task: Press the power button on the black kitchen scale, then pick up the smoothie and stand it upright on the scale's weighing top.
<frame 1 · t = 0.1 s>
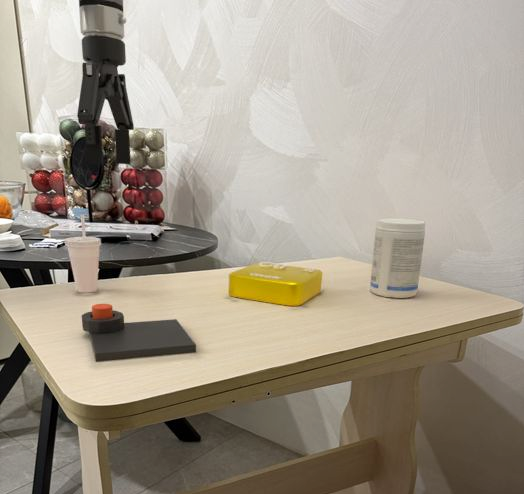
hand: (110, 164, 101), 23 cm above the table, tool pointing down, fingers open, 13 cm apart
scale button: (102, 312, 74), point 3 cm above the table, slide at 0.1 cm
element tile: (275, 294, 103), on the table
scale: (140, 342, 73), on the table
smoothie: (87, 291, 99), on the table
supplement tub: (392, 294, 107), on the table
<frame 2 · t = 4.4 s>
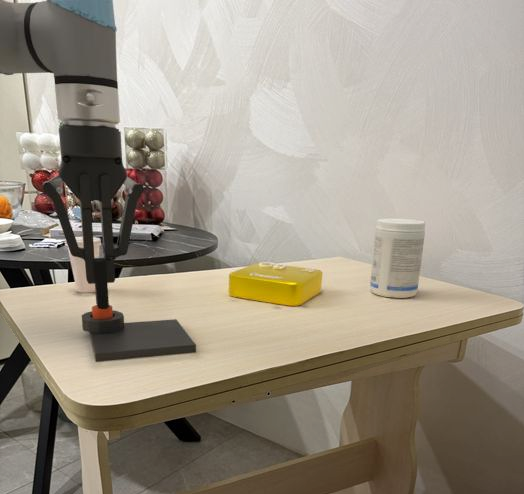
hand: (102, 305, 74), 5 cm above the table, tool pointing down, fingers closed
scale button: (102, 312, 74), point 3 cm above the table, slide at 0.0 cm, touching gripper
everything else where it was.
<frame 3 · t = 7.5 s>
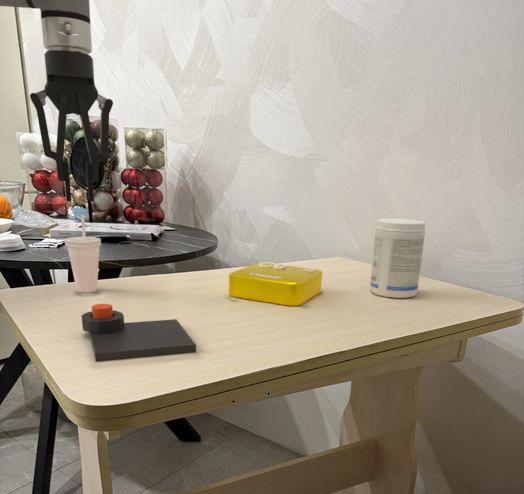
hand: (80, 200, 93), 17 cm above the table, tool pointing down, fingers open, 3 cm apart
scale button: (102, 312, 74), point 3 cm above the table, slide at 0.1 cm
everything else where it was.
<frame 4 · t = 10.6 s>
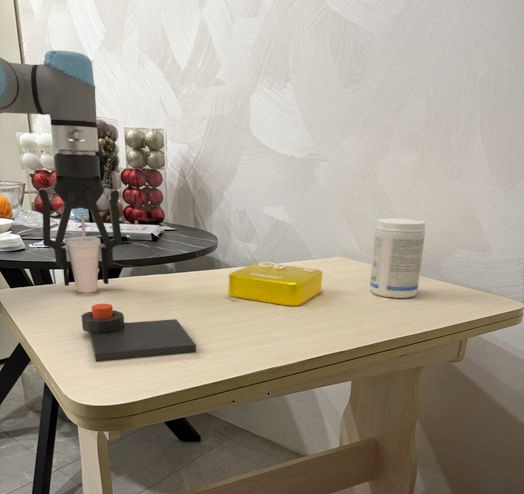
hand: (86, 282, 99), 1 cm above the table, tool pointing down, fingers closed on smoothie, 6 cm apart
smoothie: (87, 291, 99), on the table, touching gripper
everything else where it was.
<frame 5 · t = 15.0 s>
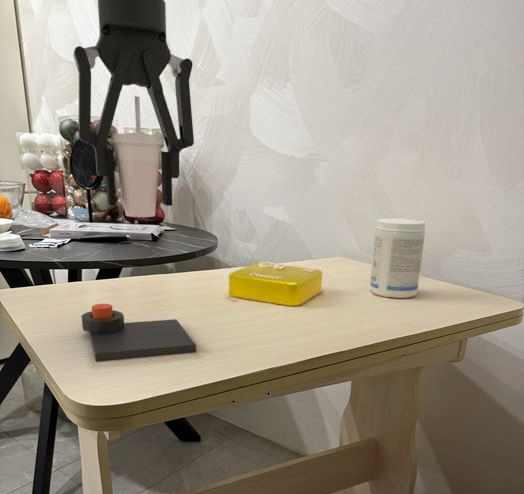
hand: (139, 204, 67), 19 cm above the table, tool pointing down, fingers closed on smoothie, 6 cm apart
smoothie: (140, 217, 68), point 17 cm above the table, touching gripper
everything else where it was.
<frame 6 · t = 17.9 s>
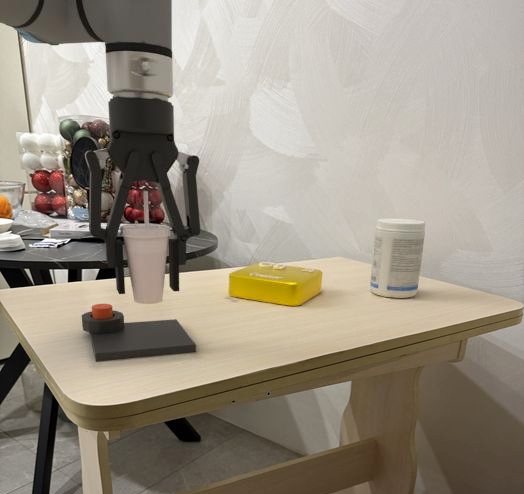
hand: (148, 289, 69), 8 cm above the table, tool pointing down, fingers closed on smoothie, 6 cm apart
smoothie: (148, 301, 70), point 6 cm above the table, touching gripper
everything else where it was.
when the fingers open (3 cm above the table, at t = 19.8 s): smoothie stays where it is, resting on scale.
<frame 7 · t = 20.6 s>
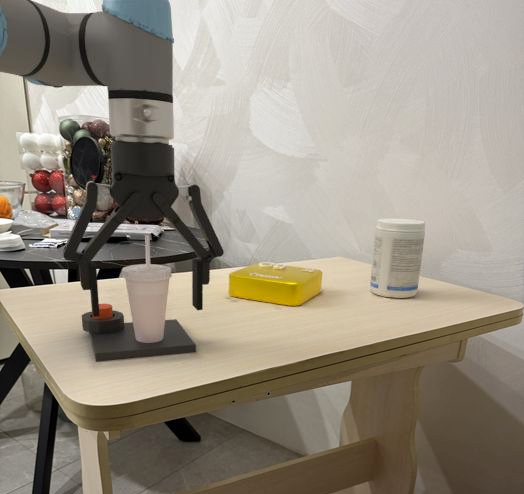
hand: (148, 310, 70), 5 cm above the table, tool pointing down, fingers open, 13 cm apart
smoothie: (149, 339, 72), point 1 cm above the table, touching scale
everything else where it was.
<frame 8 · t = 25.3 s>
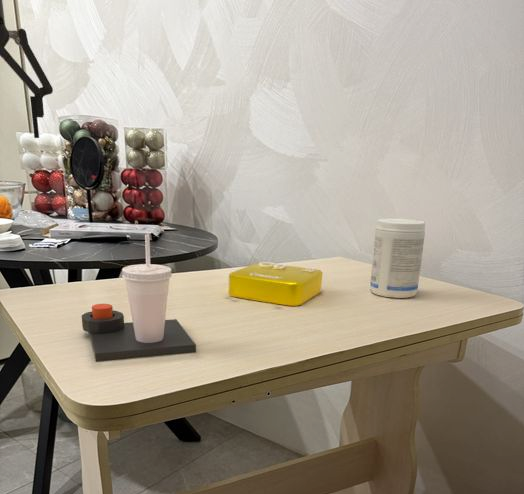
nothing on the table moved.
at the end: scale button pushed in 1.0 cm at the most during the clip, back to where it started at the end; smoothie inside the target area on the scale (2.3 cm from its centre), point 1.0 cm above the scale's base; smoothie tilted 0° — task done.
